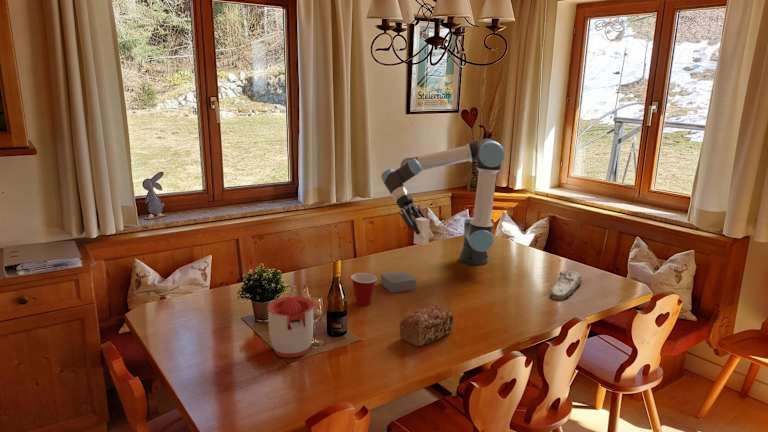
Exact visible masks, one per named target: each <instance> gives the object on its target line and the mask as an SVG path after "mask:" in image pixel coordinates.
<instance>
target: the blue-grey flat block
mask: <svg viewBox="0 0 768 432" xmlns="http://www.w3.org/2000/svg"><path fill="white" fill-rule="evenodd" d="M416 282H417V279H416V278H414V277H413V276H412V275H411V274H409V273H408V272H407V271H405V270H402V271H394V272H386V273H380V285H382V286H383V287H384V288H385V289H387V290H388V291H389V292H390V293H398V292H400V293H401V292H405V291H413V290H416V289H417V288H416V287H417V286H416V285H417V283H416Z"/></svg>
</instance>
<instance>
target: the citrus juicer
mask: <svg viewBox="0 0 768 432" xmlns="http://www.w3.org/2000/svg"><path fill="white" fill-rule="evenodd" d="M314 306H315V304H314V302H313V301H312V300H311V299H309V298H306V297H301V296H284V297H281V298H280V297H279V298H276V299H274V300H272V301H270V302H269V303H268V304H267V307H266V309H267V311H268V314H267V315H268V334H269V338H270V339H269V340H270V343H271V346H272V349H273V351H274V352H275V354H276V355H277V356H279V357H281V358H283V357H285V358H284V359H287V358H288V359H293V357H295V358H298V357H299V356H300V357H302V356H304V355H306V354H307V353H308V352H309V350H310V348H311V345H312V342H313V337H314Z"/></svg>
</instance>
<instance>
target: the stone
mask: <svg viewBox="0 0 768 432" xmlns="http://www.w3.org/2000/svg"><path fill="white" fill-rule="evenodd" d="M558 274H559V277H558V279H557V281H556V282H555V283H554V285H553V286H552V287H551V289H550V292H549V297H551V298H552V299H553V300H555V299H556V300H557V301H563V300H565V299H566V298H568V297H569V296H570V295H572V294H573V293H574V291H576V289H577V287H578V286H579V285H580V283H581V282H582V274H581V273H580V272H577V271H575V270H571V271H568V270H561V271H559V273H558ZM556 300H555V301H556Z"/></svg>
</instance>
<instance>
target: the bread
mask: <svg viewBox="0 0 768 432" xmlns="http://www.w3.org/2000/svg"><path fill="white" fill-rule="evenodd" d="M453 323H454V317H453V314H452V313H451V312H450V311H448V310H446V309H445V308H443V307H440V306H438V305H434V306H432V307H431V306H429V307H424V308H420V309H419V310H416V311H413V312H411V313H410V314H407V315H405V316H404V317H403V318H402V319H400V323H399V331H400V333H399V334H400V338H401V339H402V340H403V341H405V342H407V343H409V344H411V345H413V346H415V347H422V346H423V345H425V344H426V345H427V344H429V343H431V342H433V341H436V340H438V339H440V338H441V339H442V338H443V337H444V336H446V335H447V334H450V333H451V332H452V327H454V326H453Z"/></svg>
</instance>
